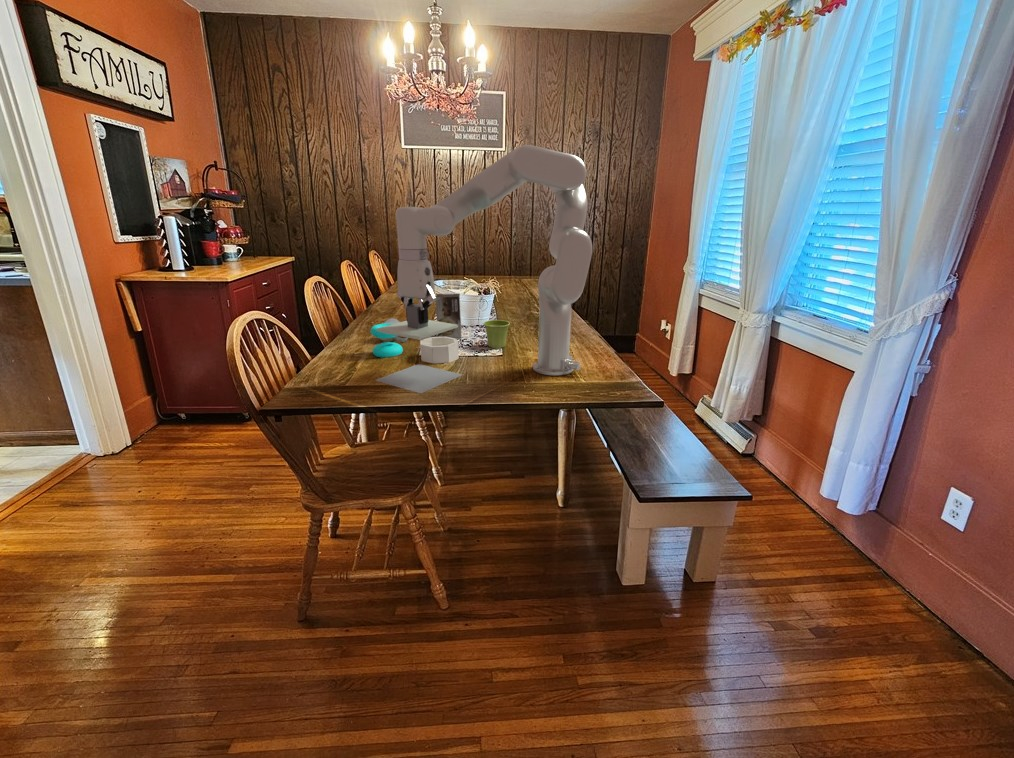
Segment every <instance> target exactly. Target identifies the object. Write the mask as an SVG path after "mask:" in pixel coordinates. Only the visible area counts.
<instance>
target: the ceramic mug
mask: <svg viewBox="0 0 1014 758" xmlns="http://www.w3.org/2000/svg"><path fill="white" fill-rule="evenodd" d="M399 322H400V320H399V319H397V318H393V317H391V318H388V319H386V320H385V321H384V322H382V324H384V323H392V324H396V323H399ZM378 339H379V340H380V341H381V342H382V343H385V342H393V341H397V342H400V343H407V341H408V340H409V338H407V337H403V338H402V337H401V336H396V337H393V338H378Z"/></svg>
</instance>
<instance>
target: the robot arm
mask: <svg viewBox="0 0 1014 758" xmlns="http://www.w3.org/2000/svg"><path fill="white" fill-rule="evenodd" d="M586 178H587V168H586V165H585V162H584V161H583V160H582V158H581V157H578V156H577V155H574V154H571V153H566V152H562V151H559V150H553V149H550V148H546V147H541V146H537V145H531V144H524V145H521V146H519V147H516V148H514V149H513V150H511V151H510V152H508V153H507V154H505V155H503V156H502V157H501V158H499V159H498V160H497V161H495V162H494V163H492V164H491V165H489V166H488V167H486V168H484V169H483V170H482V171H480V172H478V173H477V174H475V176H473V177H472V178H470V179H469V180H468V181H467V182H465V183H464V184H463V185H462V186H461V187H459V188H458V189H457V190H454V192H452V193H451V194H449V195H447V196H446V197H444V198H443V199H441V200H440V201H439V202H437V203H436V204H434V205H432V206H430V207H420V206H401V207H397V209H396V211H395V220H396V221H395V222H396V232H397V233H396V234H397V245H398V259H399V260H398V261H397V262H398V263H397V273H396V275H397V292H396V296H397V297H398V299H400V301H401V302H402V304H403V307H404V309H405V313H406V318H407V310H406V306H409V305H413V304H415V303H414V302H415V299H416V300H418V301H417V302H418V304H419V307H420V310H418V311H419V323H420V324H424V323H427V322H428V320H429V311H428V310H429V309H430V307H431V305H432V304H433V303H435V302H436V290H435V289H436V288H435V279H434V271H433V267H432V263H431V261H430V260H428V259H429V257H430V253H429V251H428V247H427V236H436V237H444V236H447V235H449V234H451V233H452V232H453V231H454V230H455V226H456V225H458V223H460V222H462V221H463V220H465V219H467V218H468V217H469V216H471V215H474V214H475V213H477V212H479V211H483V210H485V209H488V208H490V207H491V206H493V205H495V204H497V203H498V202H500V201H501V200H503V198H505V197H507V196H509V194H511V193H512V192H514V191H516V190H517V189H518V188H520V187H521V186H522V185H524V184H526V183H527V182H530V183H533V184H538V185H542V186H545V187H548V188H549V189H550V190H551V191H552V193H553V195H554V197H555V200H556V201H555V202H556V210H555V217H554V220H553V225H552V231H551V233H550V234H551V235H550V240H549V244H548V246H549V247H548V249H549V253H550V255H551V256H552V258H554V259H555V265H554V264H553V265H550V266H548V267H546V268H544V269H543V271H542V272H541V273H540V275H539V278H538V282H537V283H538V284H537V289H538V291H537V292H538V303H539V310H538V311H539V315H538V316H539V317H538V344H537V345H538V346H537V347H538V351H537V352H538V354H537V361H536V362H534V363H533V364H532V370H533V371H534V372H536V373H538V374H540V375H546V376H565V375H569V374H571V373H572V372H573V371H574V370H575V371H579V370H580V369H581V365H580V361H576V360H575V361H574V360H573V355H571V354H570V347H571V345H570V343H571V328H572V327H571V324H572V323H571V322H572V304H574V303H575V302H576V301H578V300H579V298H581V296H582V294H583V291H584V288H585V285H586V282H587V278H588V275H589V268H590V264H591V261H592V255H593V242H592V239H591V237H590V235H589V234H588V233H587V231H585V230H584V228H585V225H586V224H585V223H586V217H587V212H588V197H587V192H586V189H585V186H584V185H583V184H584V182H585V180H586Z"/></svg>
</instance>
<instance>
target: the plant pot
mask: <svg viewBox="0 0 1014 758" xmlns="http://www.w3.org/2000/svg"><path fill="white" fill-rule="evenodd" d="M482 323H483V325H484V329H485V333H486V340H487V346H488V347H489V348H491V349H500V348H505V347H506V343H507V337H508V331H509V330H508V329H509V326H510V324H511V323H510V321H508V320H505V319H504V320H503V319H491V320H487V321H484V322H482Z"/></svg>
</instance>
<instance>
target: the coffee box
mask: <svg viewBox="0 0 1014 758" xmlns="http://www.w3.org/2000/svg"><path fill="white" fill-rule="evenodd" d="M435 297H436V301H435V310H436V311H435V312H436V321H439V322H445V323H451V324H457V325H458V327H457V328H454V329H451V330H448V331H445V332H442V333H439V334H437V337H450V338H456V339H461V338H462V334H463V333H462V317H461V316H462V315H461V294H460V293H437V294H435Z"/></svg>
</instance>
